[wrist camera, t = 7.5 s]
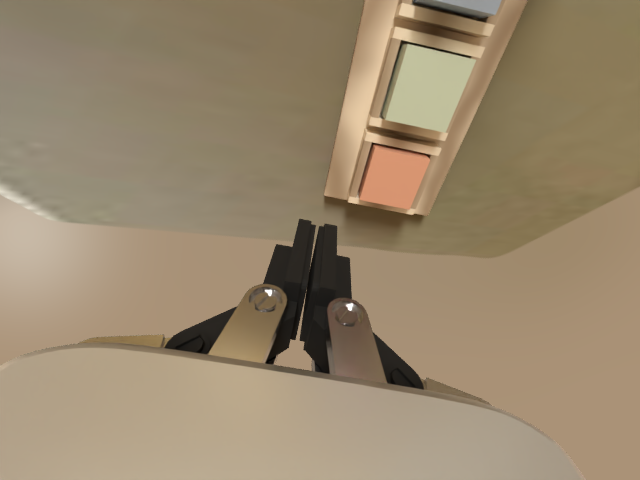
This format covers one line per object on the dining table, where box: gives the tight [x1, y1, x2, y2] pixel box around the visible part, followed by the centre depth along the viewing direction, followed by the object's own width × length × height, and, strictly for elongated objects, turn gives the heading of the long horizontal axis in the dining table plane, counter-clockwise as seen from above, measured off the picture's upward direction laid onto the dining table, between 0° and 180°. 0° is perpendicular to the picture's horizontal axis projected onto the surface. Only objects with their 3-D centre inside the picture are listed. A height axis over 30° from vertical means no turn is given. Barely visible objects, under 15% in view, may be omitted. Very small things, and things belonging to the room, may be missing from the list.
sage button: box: [381, 44, 476, 133], centre depth 26 cm, size 6×6×3 cm
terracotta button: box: [358, 142, 430, 210], centre depth 32 cm, size 6×6×3 cm
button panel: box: [324, 0, 528, 216], centre depth 28 cm, size 14×28×4 cm, turn 169°
